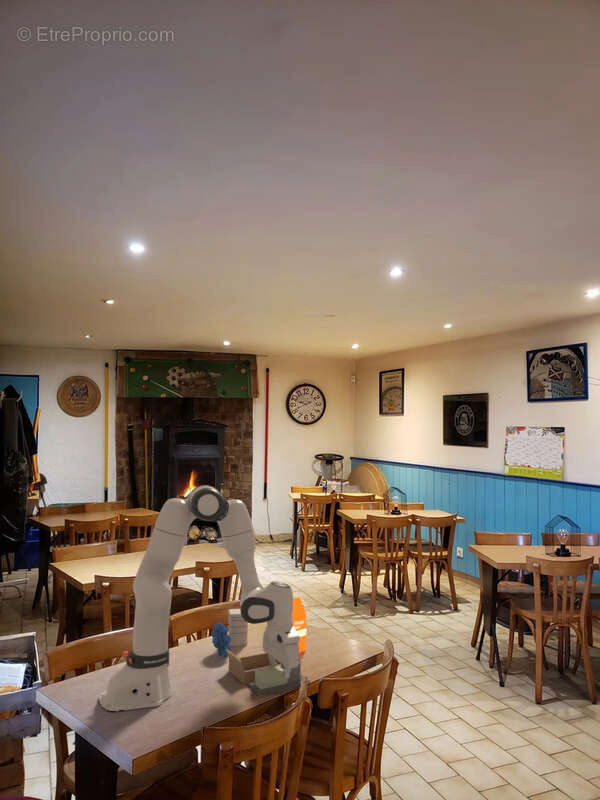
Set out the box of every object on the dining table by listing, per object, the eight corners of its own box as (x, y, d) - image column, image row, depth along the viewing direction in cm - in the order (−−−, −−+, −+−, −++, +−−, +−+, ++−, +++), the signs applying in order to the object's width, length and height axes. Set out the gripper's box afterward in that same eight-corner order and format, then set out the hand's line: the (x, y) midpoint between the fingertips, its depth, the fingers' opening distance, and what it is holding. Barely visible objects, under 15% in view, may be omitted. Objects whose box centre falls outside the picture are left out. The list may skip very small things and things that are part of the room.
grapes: (203, 653, 233) (204, 621, 234) (218, 649, 237) (218, 618, 238) (220, 662, 224) (220, 629, 225) (235, 658, 228) (235, 625, 229)
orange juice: (276, 650, 237) (276, 598, 238) (293, 645, 243) (293, 594, 244) (289, 656, 231) (290, 602, 232) (306, 650, 237) (306, 598, 238)
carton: (240, 685, 204) (240, 661, 204) (225, 671, 215) (225, 649, 216) (296, 673, 215) (296, 650, 215) (279, 660, 226) (279, 639, 227)
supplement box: (227, 640, 248) (228, 608, 249) (245, 639, 250) (246, 608, 250) (229, 646, 241) (229, 614, 242) (247, 645, 242) (248, 613, 243)
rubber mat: (259, 695, 196) (259, 692, 196) (248, 686, 203) (249, 683, 203) (309, 684, 205) (309, 681, 205) (298, 675, 212) (298, 672, 212)
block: (260, 689, 198) (260, 670, 199) (254, 684, 202) (254, 666, 202) (300, 680, 206) (300, 662, 206) (293, 676, 209) (294, 658, 210)
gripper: (258, 623, 213) (257, 664, 212) (285, 641, 195) (285, 685, 194) (274, 621, 216) (273, 661, 215) (302, 638, 198) (302, 681, 197)
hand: (279, 672), depth 204 cm, fingers open, 8 cm apart
